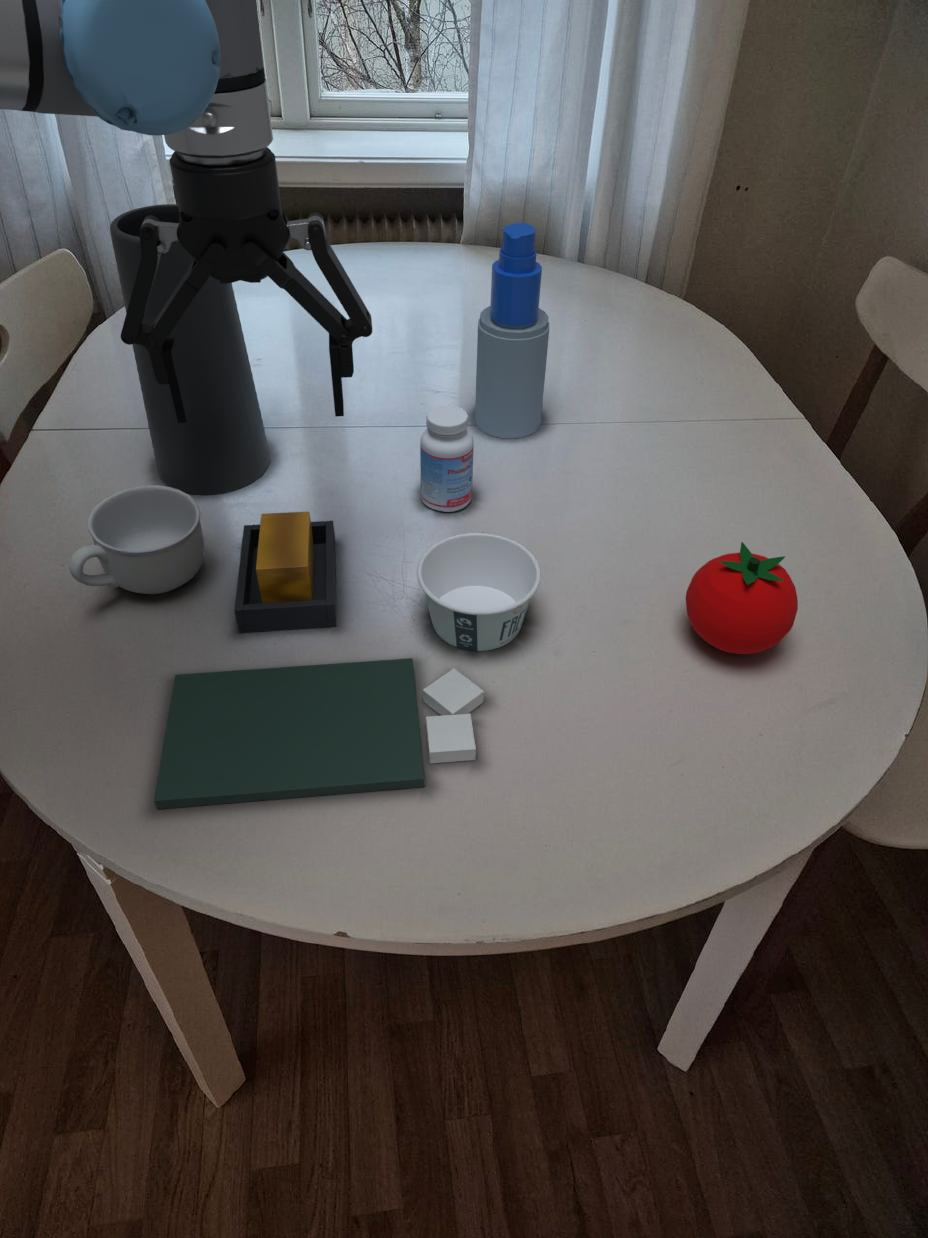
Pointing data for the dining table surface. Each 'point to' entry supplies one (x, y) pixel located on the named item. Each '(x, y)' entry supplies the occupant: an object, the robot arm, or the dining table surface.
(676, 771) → the dining table surface
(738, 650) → the tomato
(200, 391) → the vase
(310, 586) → the yellow rectangular block
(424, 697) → the white square block
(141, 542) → the teacup
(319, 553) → the tray
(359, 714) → the chalkboard
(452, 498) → the pill bottle
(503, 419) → the spray bottle
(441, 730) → the grey square block
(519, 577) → the food container
